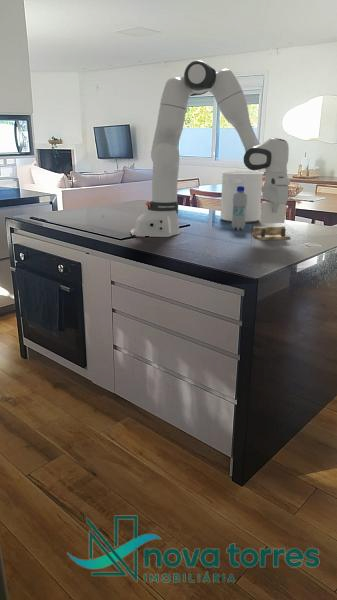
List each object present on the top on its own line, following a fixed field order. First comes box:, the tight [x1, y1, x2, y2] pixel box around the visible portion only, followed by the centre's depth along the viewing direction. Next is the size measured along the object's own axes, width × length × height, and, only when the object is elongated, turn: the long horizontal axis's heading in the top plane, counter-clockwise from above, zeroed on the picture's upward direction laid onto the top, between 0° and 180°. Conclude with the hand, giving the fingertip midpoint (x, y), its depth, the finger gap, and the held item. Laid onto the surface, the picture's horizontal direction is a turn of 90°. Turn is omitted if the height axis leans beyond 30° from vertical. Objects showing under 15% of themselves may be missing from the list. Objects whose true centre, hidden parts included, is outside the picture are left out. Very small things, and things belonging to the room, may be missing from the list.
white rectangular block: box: [259, 200, 287, 225], centre depth 192 cm, size 10×2×9 cm, turn 98°
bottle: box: [231, 186, 247, 231], centre depth 208 cm, size 7×7×20 cm
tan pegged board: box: [251, 225, 291, 241], centre depth 195 cm, size 14×10×4 cm
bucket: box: [220, 170, 265, 224], centre depth 231 cm, size 26×22×24 cm
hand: (272, 212), depth 192 cm, fingers closed on white rectangular block, 2 cm apart
